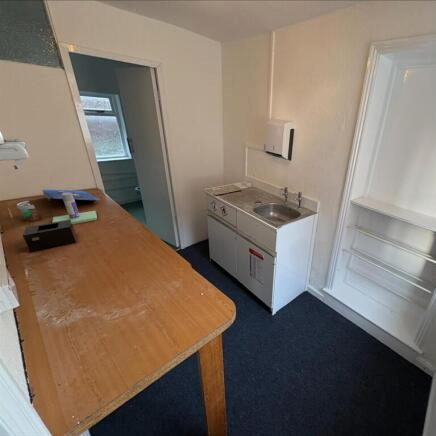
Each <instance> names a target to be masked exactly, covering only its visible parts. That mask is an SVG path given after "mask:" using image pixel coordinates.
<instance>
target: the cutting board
mask: <svg viewBox="0 0 436 436" xmlns="http://www.w3.org/2000/svg"><path fill="white" fill-rule="evenodd" d="M79 215H80V217H79V218H76V219H70V217H69V214H66V215H59V216H53V217H52V221H51V223H53V222H58V221H64V220H71V222H72V225H75V224H82V223H86V222H92V221H93V222H94V221H98V216H97V211H96V210H90V211H85V212H79Z"/></svg>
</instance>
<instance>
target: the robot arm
mask: <svg viewBox="0 0 436 436" xmlns="http://www.w3.org/2000/svg"><path fill="white" fill-rule="evenodd" d="M29 158H30V155H29V153H28V151H27V150H26V144H25V142H24V141H23V140H19V139H5V138H4V136H3V133H2V132H1V130H0V161H14V162H15V163H16V164H14V165H13V168H14V170H20V169H21V167H20V164H21V160H28V159H29Z"/></svg>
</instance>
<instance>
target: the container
mask: <svg viewBox="0 0 436 436" xmlns="http://www.w3.org/2000/svg"><path fill="white" fill-rule="evenodd" d="M62 197H63V199H62V201H63V203H64V206H65V210H66V211H67V215H69V217H70V219H76V218H79V217H80V215H79V213H80V212H79V209H78V206H77V203H76V201H75V200H76V199H74V198H73V195H72V193H64V194H62Z"/></svg>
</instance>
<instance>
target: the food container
mask: <svg viewBox="0 0 436 436" xmlns="http://www.w3.org/2000/svg"><path fill="white" fill-rule="evenodd" d="M16 209H17V210H19V211H20V212H21V215H22V216H23V218H24V220H25V221H26V222H35V221H40V217H39V215H38V211H37V209H36V208H35V205H34V204H32V203H31V202H30V200H25V201H21V202H18V203H17V204H16Z"/></svg>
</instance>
